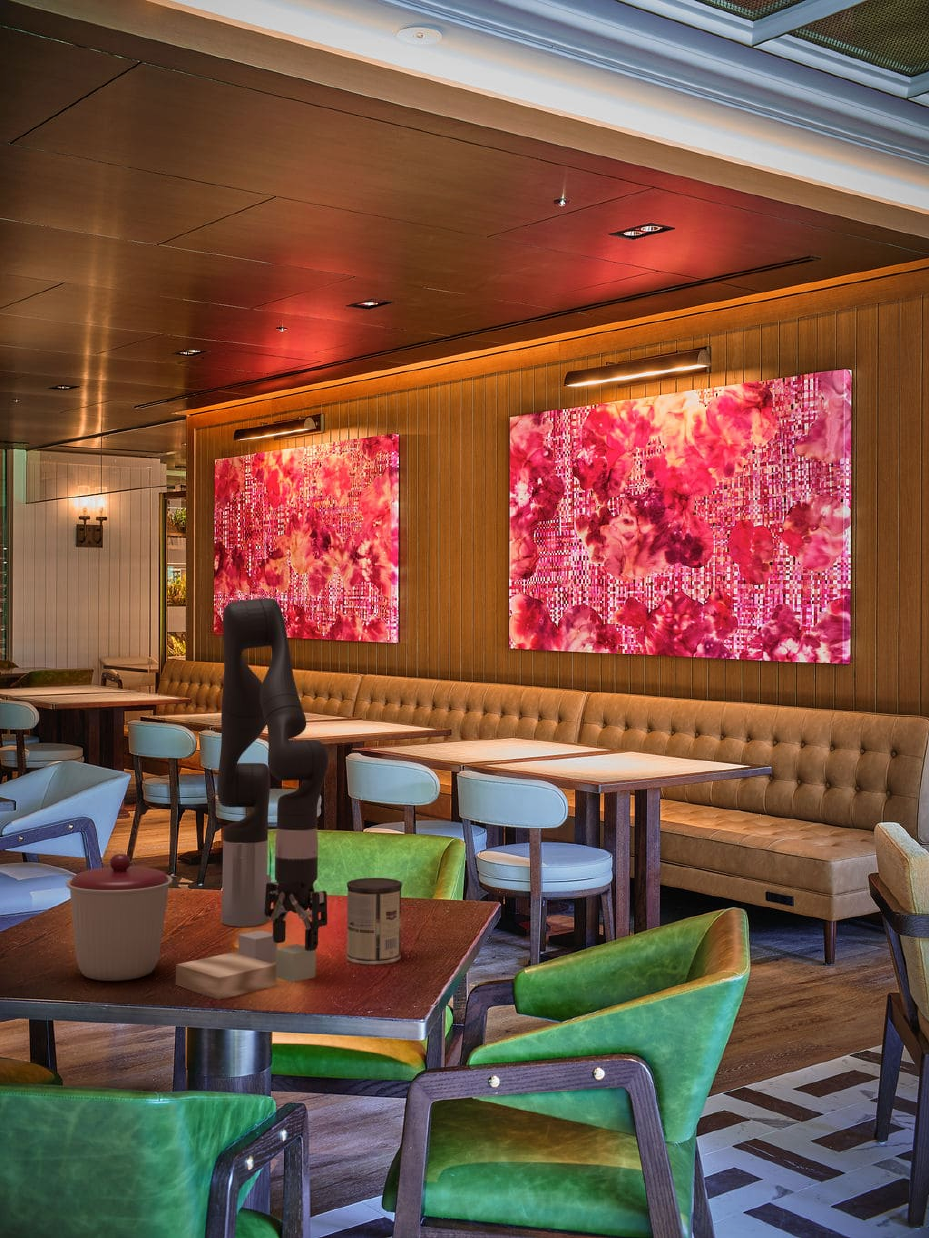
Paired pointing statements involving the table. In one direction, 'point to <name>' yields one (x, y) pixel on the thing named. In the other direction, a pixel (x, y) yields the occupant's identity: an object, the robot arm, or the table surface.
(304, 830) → the robot arm
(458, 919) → the table surface
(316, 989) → the table surface
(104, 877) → the canister
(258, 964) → the birch block
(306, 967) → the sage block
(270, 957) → the grey block
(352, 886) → the coffee can
